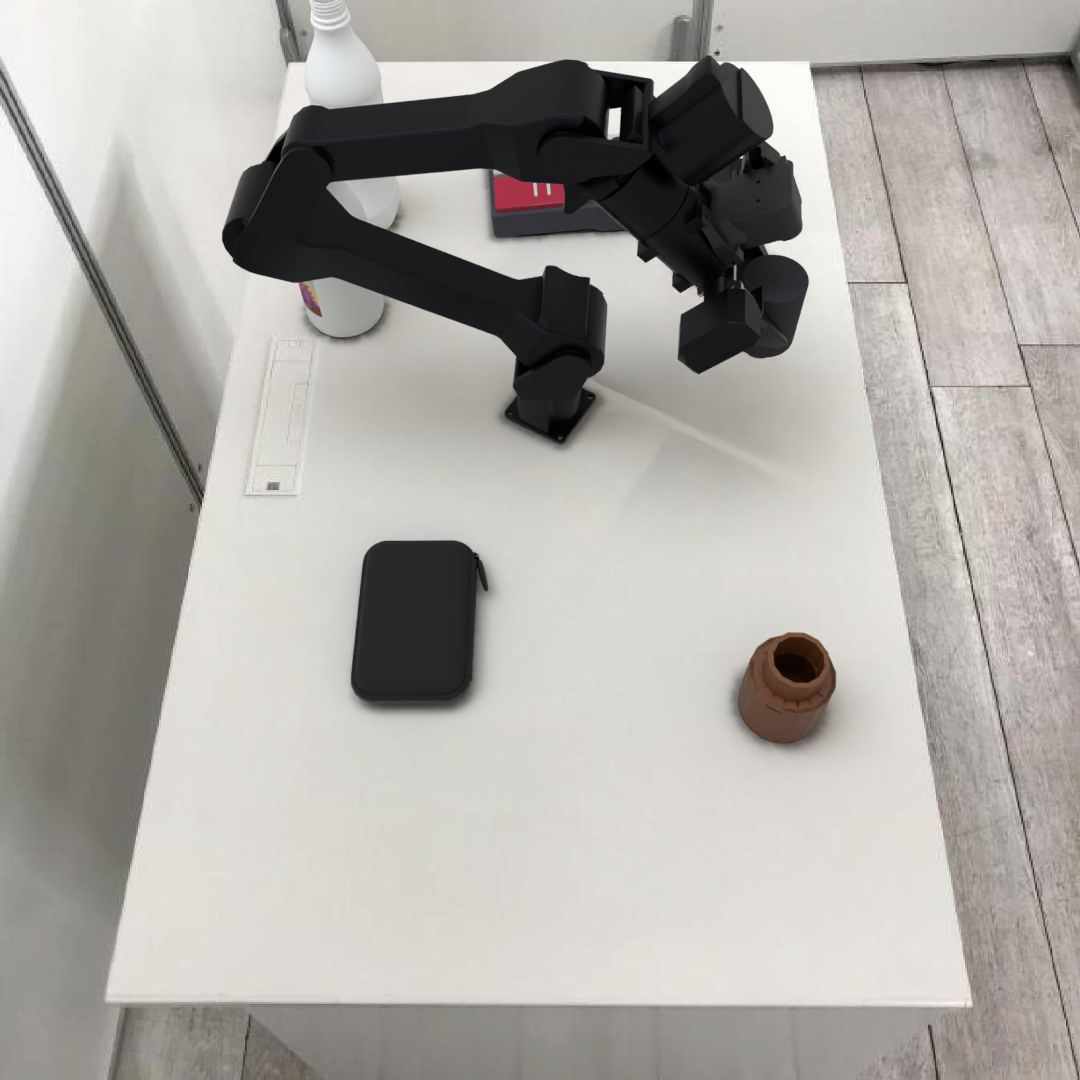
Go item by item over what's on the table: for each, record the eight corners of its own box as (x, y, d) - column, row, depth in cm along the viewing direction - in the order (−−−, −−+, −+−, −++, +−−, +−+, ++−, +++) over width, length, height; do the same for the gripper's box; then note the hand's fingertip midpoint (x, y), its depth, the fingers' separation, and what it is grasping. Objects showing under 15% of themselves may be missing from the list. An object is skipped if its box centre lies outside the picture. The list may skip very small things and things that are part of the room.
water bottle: (393, 245, 112) (353, 23, 90) (327, 236, 113) (273, 14, 91) (411, 199, 115) (377, -26, 94) (347, 191, 116) (299, -34, 95)
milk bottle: (391, 285, 109) (359, 117, 92) (377, 342, 105) (342, 178, 88) (317, 280, 109) (271, 112, 92) (301, 337, 105) (250, 173, 88)
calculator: (486, 140, 115) (625, 126, 114) (490, 172, 118) (625, 159, 118) (490, 211, 109) (637, 196, 109) (494, 242, 113) (636, 229, 112)
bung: (734, 372, 89) (749, 304, 82) (723, 325, 92) (736, 256, 85) (795, 367, 89) (815, 299, 82) (782, 321, 92) (801, 251, 85)
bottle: (798, 758, 82) (821, 716, 75) (723, 717, 84) (739, 672, 77) (832, 692, 85) (857, 646, 78) (759, 654, 87) (777, 605, 80)
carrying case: (485, 709, 85) (490, 550, 92) (483, 694, 82) (488, 531, 90) (351, 710, 85) (367, 551, 92) (345, 695, 82) (362, 532, 90)
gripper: (748, 241, 69) (877, 366, 77) (748, 62, 78) (864, 191, 87) (619, 318, 76) (751, 424, 85) (634, 145, 85) (751, 256, 94)
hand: (782, 320), depth 87 cm, fingers closed on bung, 5 cm apart
